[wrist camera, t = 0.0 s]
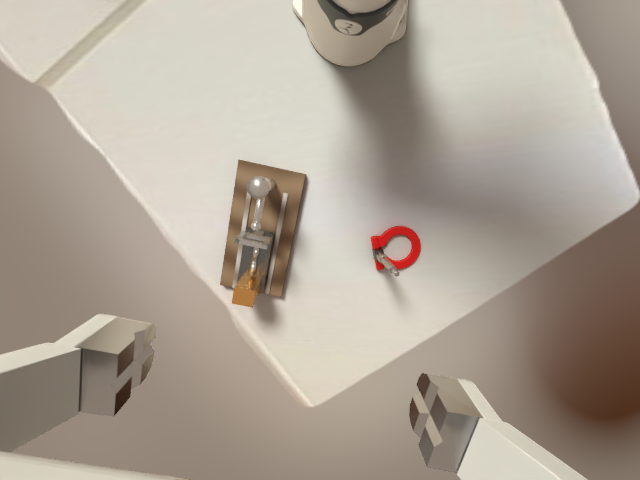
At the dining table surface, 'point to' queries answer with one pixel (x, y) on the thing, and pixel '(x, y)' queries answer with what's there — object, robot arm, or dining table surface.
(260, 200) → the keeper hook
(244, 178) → the board
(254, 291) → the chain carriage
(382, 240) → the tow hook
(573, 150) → the dining table surface
